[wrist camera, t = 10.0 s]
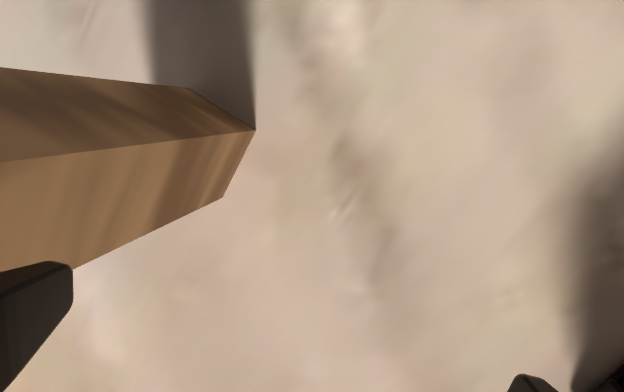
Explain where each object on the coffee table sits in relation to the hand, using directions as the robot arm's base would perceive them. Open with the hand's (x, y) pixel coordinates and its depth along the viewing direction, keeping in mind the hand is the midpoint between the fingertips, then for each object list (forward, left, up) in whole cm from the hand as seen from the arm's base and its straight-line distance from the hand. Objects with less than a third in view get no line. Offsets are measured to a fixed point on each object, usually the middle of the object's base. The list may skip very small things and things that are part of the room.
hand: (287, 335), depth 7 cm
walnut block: (+9, +2, -13) cm, 15 cm away
